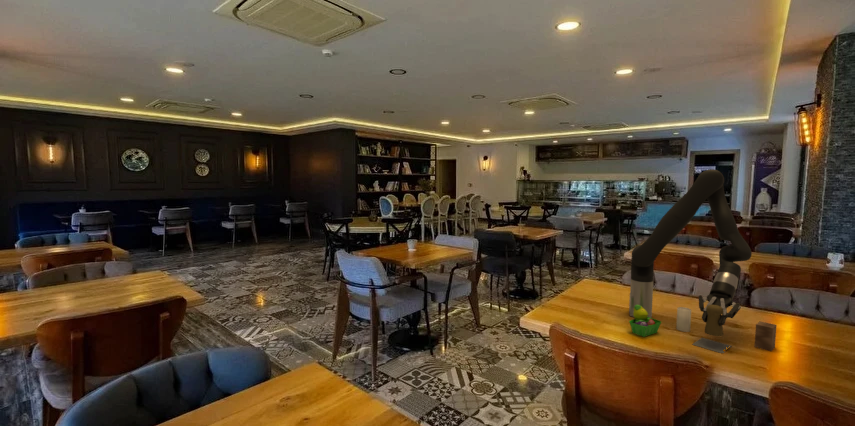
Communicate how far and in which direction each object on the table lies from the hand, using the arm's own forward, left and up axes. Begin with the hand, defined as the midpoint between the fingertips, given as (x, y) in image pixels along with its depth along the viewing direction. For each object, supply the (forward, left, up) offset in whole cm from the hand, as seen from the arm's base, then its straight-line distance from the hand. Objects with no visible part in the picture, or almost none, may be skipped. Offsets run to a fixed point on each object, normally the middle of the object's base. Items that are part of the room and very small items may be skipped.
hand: (712, 322), depth 151 cm
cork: (+1, +2, -5) cm, 5 cm away
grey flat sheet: (+1, +2, -10) cm, 10 cm away
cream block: (-6, +16, -10) cm, 19 cm away
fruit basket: (-22, +7, -10) cm, 25 cm away
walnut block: (+19, +7, -10) cm, 22 cm away
